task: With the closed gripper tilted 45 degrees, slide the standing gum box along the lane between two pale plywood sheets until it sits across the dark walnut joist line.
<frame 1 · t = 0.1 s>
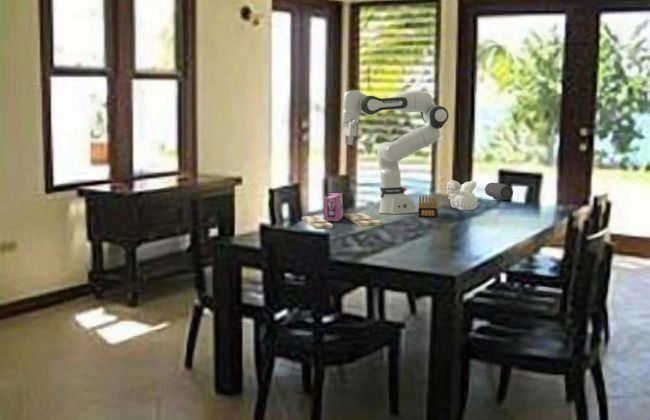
hand: (348, 144, 493), 39 cm above the table, tool pointing down, fingers open, 8 cm apart
gum box: (333, 219, 482), on the table
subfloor: (340, 222, 469), on the table
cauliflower: (463, 208, 510), on the table
bluetooth speaker: (498, 200, 548), on the table
ammunition clip: (428, 217, 475), on the table
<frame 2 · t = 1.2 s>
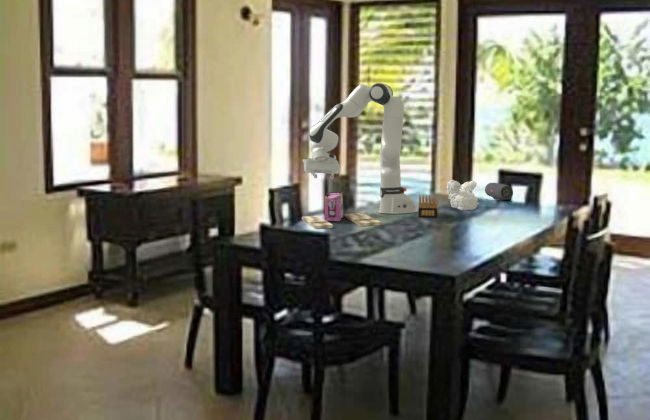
hand: (323, 177, 499), 21 cm above the table, tool tilted 45°, fingers open, 8 cm apart
nothing on the table moved.
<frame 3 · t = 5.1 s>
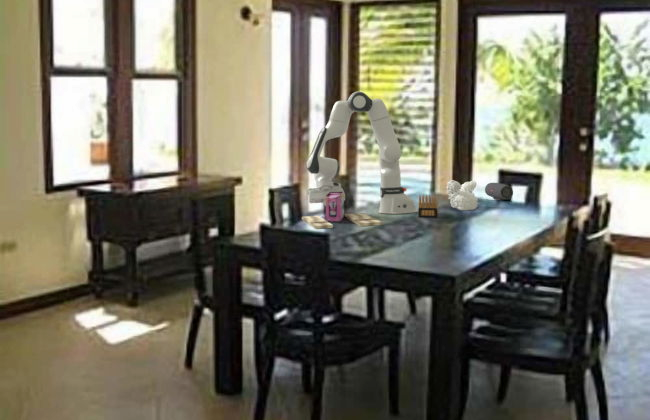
hand: (328, 207, 492), 5 cm above the table, tool tilted 45°, fingers closed
gum box: (335, 219, 482), on the table, touching gripper, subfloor
everything else where it was.
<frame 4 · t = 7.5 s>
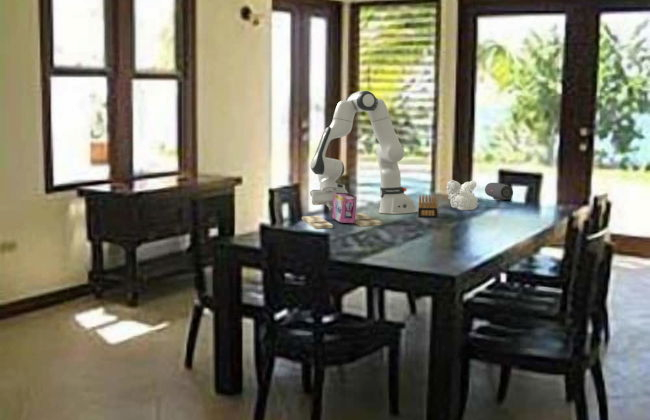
hand: (332, 209, 479), 5 cm above the table, tool tilted 45°, fingers closed
gum box: (343, 220, 471), on the table, touching gripper
everything else where it was.
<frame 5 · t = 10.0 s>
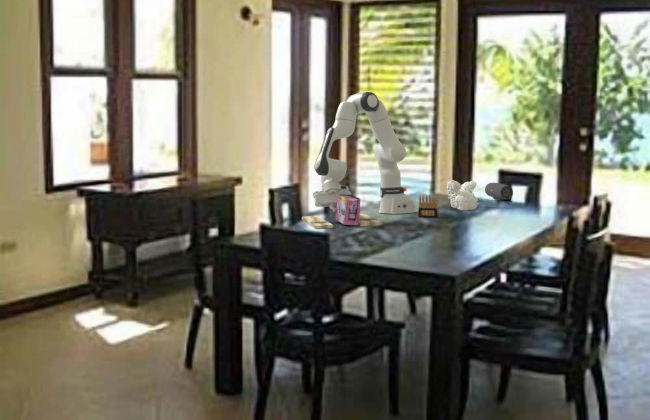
hand: (335, 211, 471), 5 cm above the table, tool tilted 45°, fingers closed
gum box: (346, 223, 462), on the table, touching gripper, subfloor
everything else where it was.
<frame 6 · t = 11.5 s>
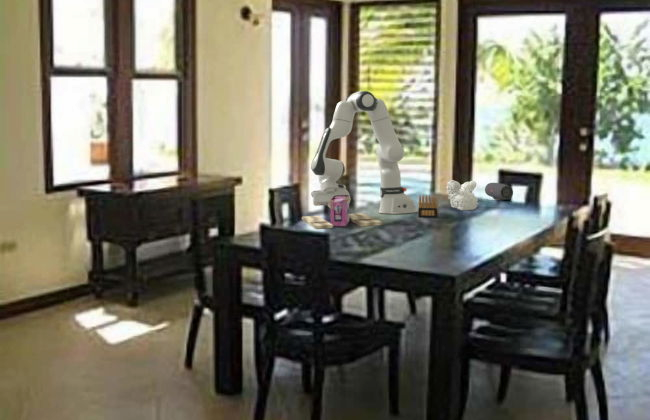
hand: (333, 209, 480), 5 cm above the table, tool tilted 45°, fingers closed
gum box: (340, 223, 464), on the table
everything else where it was.
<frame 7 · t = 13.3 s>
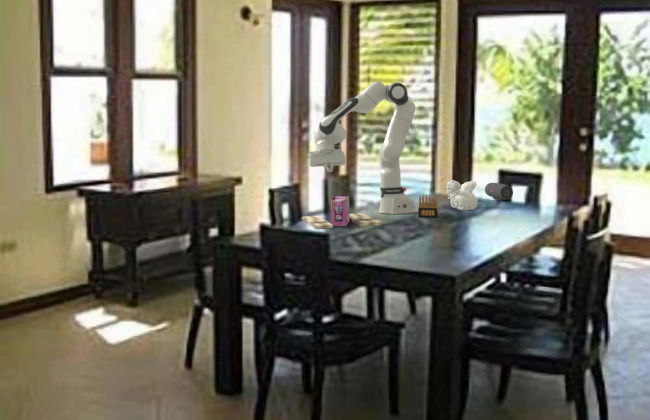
hand: (330, 171, 487), 25 cm above the table, tool tilted 40°, fingers closed
nothing on the table moved.
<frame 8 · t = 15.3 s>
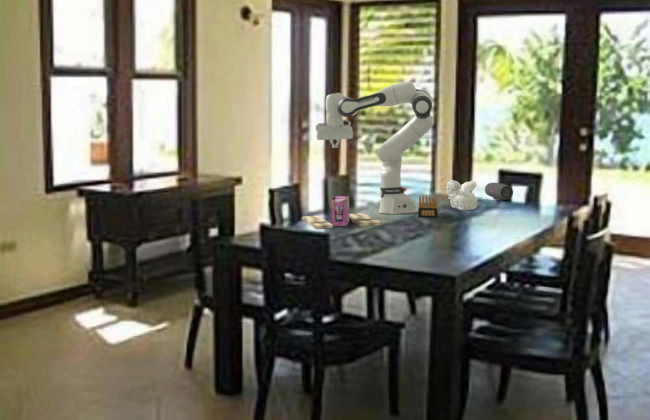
hand: (335, 147, 496), 37 cm above the table, tool pointing down, fingers closed
nothing on the table moved.
at the end: gum box inside the target area (3.5 cm from its centre), on the table; gum box tilted 0°; gum box moved 18.5 cm from its start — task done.
